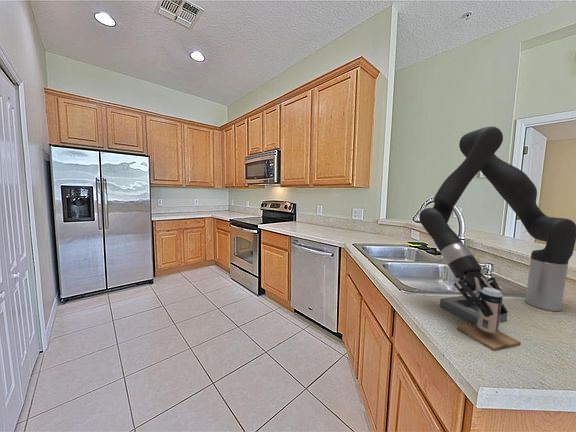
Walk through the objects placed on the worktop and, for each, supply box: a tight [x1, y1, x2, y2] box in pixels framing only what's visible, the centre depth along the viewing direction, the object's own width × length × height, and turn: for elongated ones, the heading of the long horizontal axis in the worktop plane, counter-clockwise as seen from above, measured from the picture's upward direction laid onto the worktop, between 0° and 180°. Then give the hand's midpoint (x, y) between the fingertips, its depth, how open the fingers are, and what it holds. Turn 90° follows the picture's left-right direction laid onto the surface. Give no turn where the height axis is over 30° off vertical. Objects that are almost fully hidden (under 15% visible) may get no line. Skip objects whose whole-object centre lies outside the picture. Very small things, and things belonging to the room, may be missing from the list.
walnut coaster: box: [456, 323, 522, 351], centre depth 68 cm, size 10×10×1 cm
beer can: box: [477, 287, 504, 333], centre depth 67 cm, size 5×5×12 cm
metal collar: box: [439, 294, 508, 325], centre depth 81 cm, size 13×13×3 cm
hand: (496, 314), depth 65 cm, fingers closed on beer can, 4 cm apart
